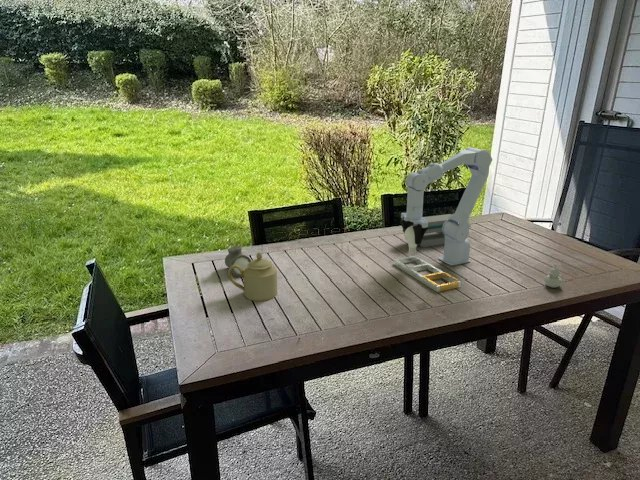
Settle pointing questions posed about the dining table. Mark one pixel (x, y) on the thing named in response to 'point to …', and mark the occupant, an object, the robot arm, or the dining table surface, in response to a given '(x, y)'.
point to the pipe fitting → (236, 260)
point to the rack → (428, 278)
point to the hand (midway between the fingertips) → (412, 241)
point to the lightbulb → (410, 239)
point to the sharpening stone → (434, 230)
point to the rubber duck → (553, 278)
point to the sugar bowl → (257, 279)
